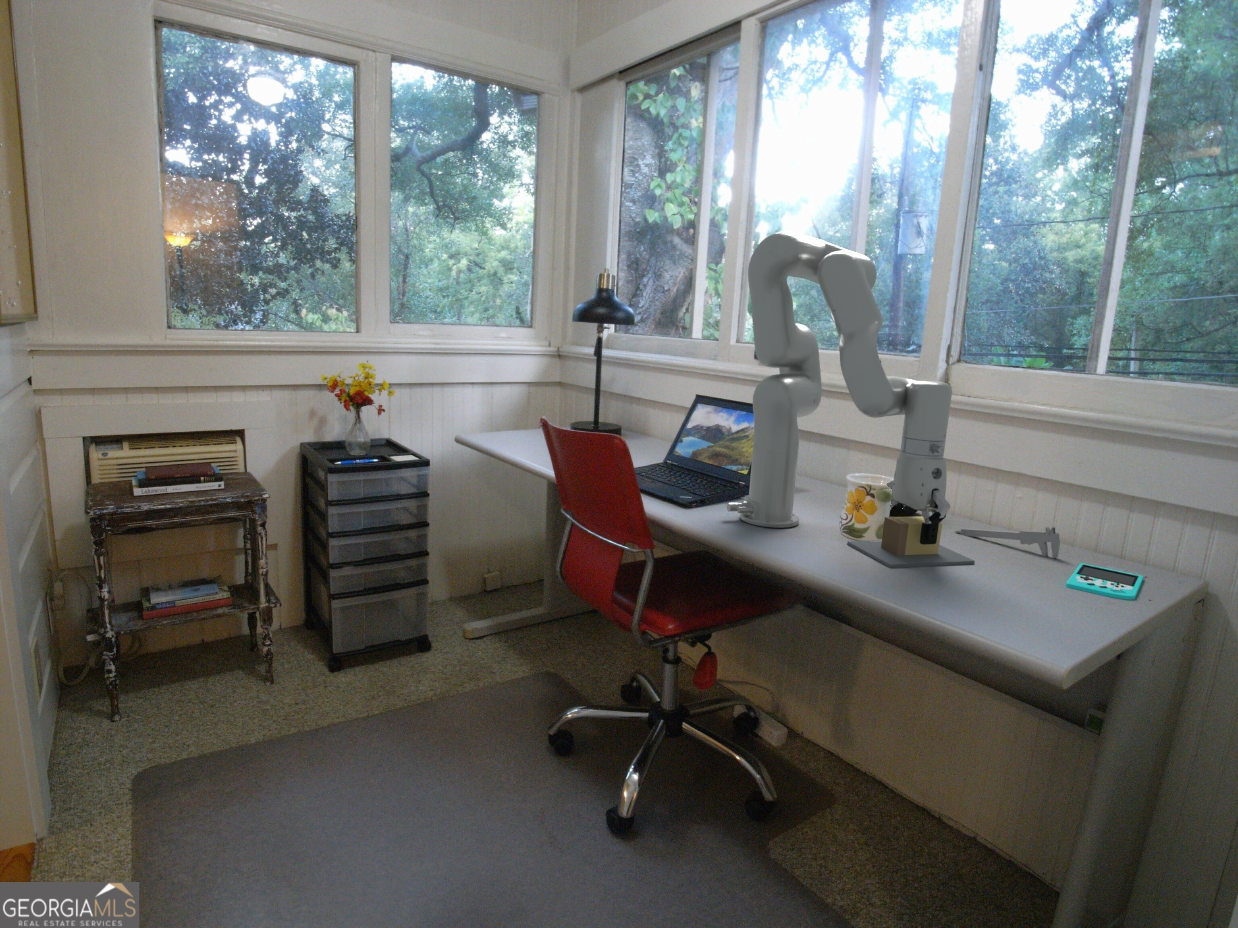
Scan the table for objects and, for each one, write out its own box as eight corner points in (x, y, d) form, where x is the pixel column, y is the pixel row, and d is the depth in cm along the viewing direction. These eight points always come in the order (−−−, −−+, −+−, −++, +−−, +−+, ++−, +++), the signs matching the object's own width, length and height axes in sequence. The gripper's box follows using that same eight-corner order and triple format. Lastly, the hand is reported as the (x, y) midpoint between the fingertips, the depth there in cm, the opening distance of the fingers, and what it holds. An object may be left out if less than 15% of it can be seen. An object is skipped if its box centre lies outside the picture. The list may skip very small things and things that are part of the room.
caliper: (1057, 559, 144) (1062, 528, 143) (1055, 560, 144) (1060, 529, 142) (957, 533, 160) (960, 504, 159) (954, 533, 159) (958, 505, 158)
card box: (938, 554, 141) (942, 523, 140) (897, 555, 139) (901, 524, 137) (920, 546, 146) (924, 516, 145) (880, 547, 143) (884, 516, 142)
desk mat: (890, 567, 133) (890, 564, 133) (847, 544, 147) (847, 541, 146) (974, 563, 138) (974, 560, 138) (925, 541, 151) (925, 538, 151)
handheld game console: (1063, 588, 128) (1064, 581, 128) (1078, 568, 140) (1079, 561, 140) (1132, 605, 122) (1134, 597, 122) (1142, 581, 134) (1143, 574, 134)
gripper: (972, 456, 131) (959, 549, 134) (910, 440, 148) (900, 523, 151) (936, 456, 129) (923, 550, 132) (877, 439, 146) (867, 524, 149)
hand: (911, 536), depth 142 cm, fingers open, 9 cm apart
